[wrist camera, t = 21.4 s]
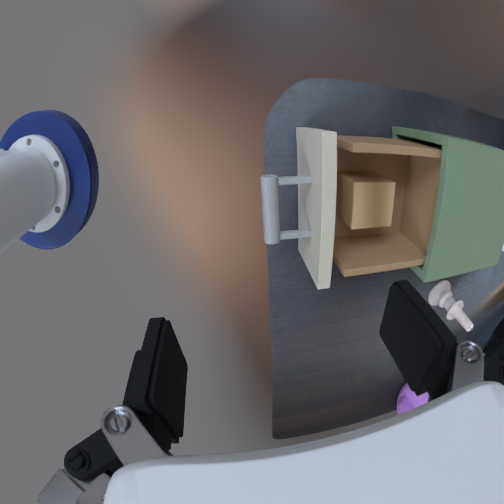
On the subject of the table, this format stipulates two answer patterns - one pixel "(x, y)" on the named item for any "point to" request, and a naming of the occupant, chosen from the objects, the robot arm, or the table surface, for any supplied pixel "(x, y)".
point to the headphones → (500, 352)
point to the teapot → (409, 399)
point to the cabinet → (463, 206)
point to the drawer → (324, 203)
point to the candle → (449, 303)
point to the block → (364, 199)
